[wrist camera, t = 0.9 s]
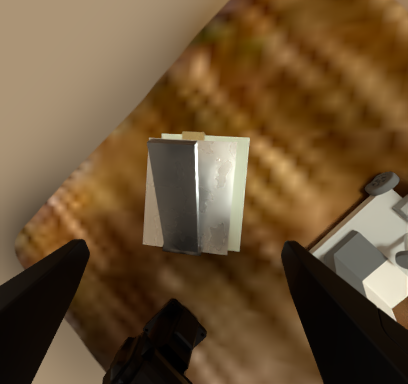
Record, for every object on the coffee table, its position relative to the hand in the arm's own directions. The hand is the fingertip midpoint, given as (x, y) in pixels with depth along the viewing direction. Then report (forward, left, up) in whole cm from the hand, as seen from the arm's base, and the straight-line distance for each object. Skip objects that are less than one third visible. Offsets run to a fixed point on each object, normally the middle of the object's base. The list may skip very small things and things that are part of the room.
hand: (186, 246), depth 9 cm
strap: (0, +2, -6) cm, 7 cm away
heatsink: (0, +3, -17) cm, 17 cm away
